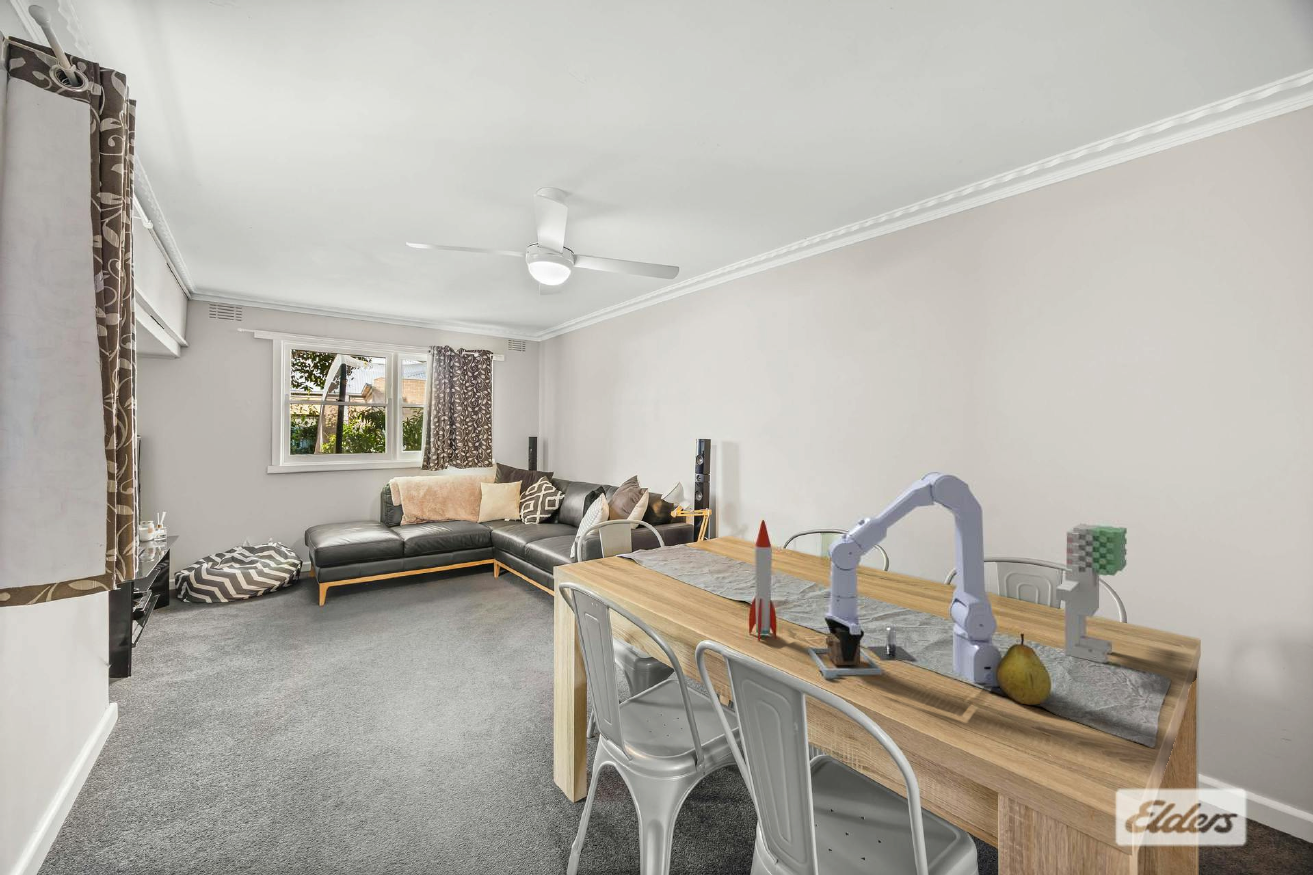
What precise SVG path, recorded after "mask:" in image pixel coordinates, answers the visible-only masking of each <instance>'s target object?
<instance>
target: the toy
mask: <svg viewBox="0 0 1313 875" xmlns="http://www.w3.org/2000/svg"><path fill="white" fill-rule="evenodd" d="M1126 534H1127V527H1120V526H1119V527H1115V526H1114V527H1113V526H1111V525H1110V526H1109V525H1106V526H1103V525H1099V524H1087V523H1079V524H1077V525H1075V526H1073V527H1072V528H1071V529H1070V530H1068V531H1067V532H1066V568H1065V573H1064V574H1065V578H1064V579H1065V580H1064V581H1062V583H1061V584H1060V585H1058V586H1057V587H1056V590H1055V591H1056V594H1055V600H1057V601H1062V602H1064V604H1065V605H1064V606H1065V607H1064V610H1065V611H1064V612H1065V613H1064V614H1065V615H1064V619H1065V621H1064V655H1067V656H1071V657H1075V658H1079V659H1084V660H1089V661H1092V662H1096V663H1101V664H1103V663H1105V664H1107V663H1108V655H1112V653H1113V652H1112V650H1113V643H1112V642H1113V641H1109V640H1108V639H1107V640H1106V639H1102V638H1097V637H1092V636H1087V635H1086V634H1087V617H1090V618H1093V616H1094V615H1095V614H1096V612H1098V610H1099V609H1100V576H1108V575H1109V576H1113V577H1114V576H1115V575H1116V574H1117V573H1118V571H1119V572H1123V570H1124V569H1125V567H1126V566H1127V559H1126V556H1127V548H1126V545H1127V538H1126Z"/></svg>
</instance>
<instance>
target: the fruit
mask: <svg viewBox="0 0 1313 875" xmlns="http://www.w3.org/2000/svg"><path fill="white" fill-rule="evenodd" d="M1020 639H1021V643H1018V644H1017V643H1016V644H1015V643H1014V644H1013V645H1011V646H1010V647H1009V648H1008V650H1007V651H1006V652H1005V654H1004V656H1002V659H1001V661H1000V663H999V665H998V667H997V671H996V676H997V681H998V683H999V685H1000V686H999V687H1000V689H1001V690H1002V692H1003V693H1004V694H1006V696H1007V697H1008V698H1010V699H1012V700H1013V701H1015V702H1016V703H1018V704H1022V705H1030V706H1031V705H1032V706H1034V705H1035V706H1036V705H1039V704H1041V703H1045V701H1046V700H1047V699H1048V698H1049V696H1050V694H1051V692H1052V682H1051V677H1050V673H1049V671H1048V670H1047V668H1046V666H1045V665H1044V663H1043V661H1042V660H1041V659H1040V657H1039V656H1038V654H1037V653H1036V651H1035V650H1033V648H1032V647H1030V646H1028V645H1026V644H1024V642H1025V634H1024V633H1020Z"/></svg>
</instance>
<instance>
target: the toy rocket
mask: <svg viewBox="0 0 1313 875" xmlns="http://www.w3.org/2000/svg"><path fill="white" fill-rule="evenodd" d="M754 545H755V546H754V580H755V581H754V584H755V586H754V587H755V588H754V590H755V591H754V592H755V596H754V598H753V600H752V602H751V605H750V608H749V613H748V633H749V635H750V634H751V633H752V632H753V629H754V627H755V632H756V633H757V641H758V642H760V641H761V635H768V634H770V633H771V632H772V634H773V637H774V639H777V629H778V626H777V614H776V610H775V606H774V604H773V601H772V600H771V599H772V595H771V594H772V560H773V559H772V557H773V554H772V553H773V551H772V550H773V549H772V545H771V540H770V538H769V533H768V529H767V525H766V522H765V520H764V519H762V520H761V523H760V526H759V530H758V534H757V539H756V542H755V544H754Z"/></svg>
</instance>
